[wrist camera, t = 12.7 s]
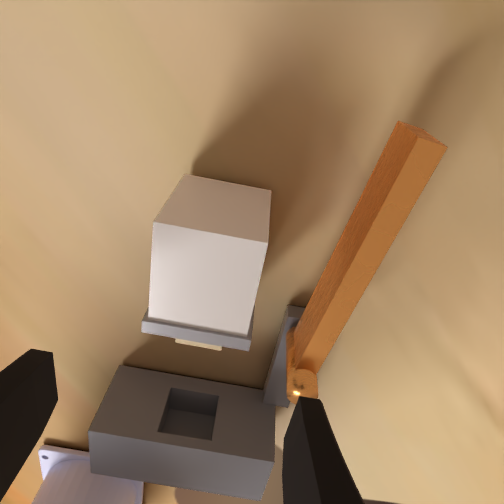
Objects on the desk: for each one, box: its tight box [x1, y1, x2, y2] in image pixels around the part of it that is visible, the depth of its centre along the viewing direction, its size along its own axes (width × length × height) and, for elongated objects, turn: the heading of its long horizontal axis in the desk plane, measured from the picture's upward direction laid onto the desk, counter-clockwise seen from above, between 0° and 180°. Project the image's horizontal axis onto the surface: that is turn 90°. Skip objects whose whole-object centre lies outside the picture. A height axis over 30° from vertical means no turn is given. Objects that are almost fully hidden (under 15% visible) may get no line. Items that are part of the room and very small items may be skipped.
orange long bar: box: [286, 121, 447, 404], centre depth 16 cm, size 12×1×4 cm, turn 163°
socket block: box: [88, 305, 305, 501], centre depth 22 cm, size 11×11×5 cm
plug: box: [141, 174, 271, 351], centre depth 17 cm, size 7×4×5 cm, turn 170°
